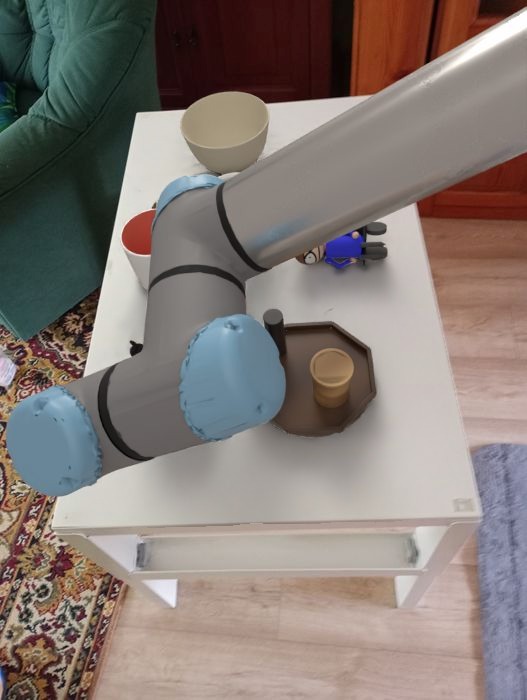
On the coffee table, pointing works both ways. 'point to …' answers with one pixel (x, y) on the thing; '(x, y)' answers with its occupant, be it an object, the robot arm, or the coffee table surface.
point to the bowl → (226, 130)
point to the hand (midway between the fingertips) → (263, 351)
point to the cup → (139, 244)
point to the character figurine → (350, 247)
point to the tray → (302, 380)
